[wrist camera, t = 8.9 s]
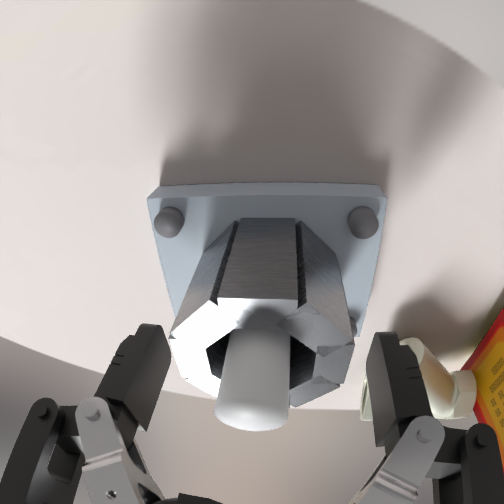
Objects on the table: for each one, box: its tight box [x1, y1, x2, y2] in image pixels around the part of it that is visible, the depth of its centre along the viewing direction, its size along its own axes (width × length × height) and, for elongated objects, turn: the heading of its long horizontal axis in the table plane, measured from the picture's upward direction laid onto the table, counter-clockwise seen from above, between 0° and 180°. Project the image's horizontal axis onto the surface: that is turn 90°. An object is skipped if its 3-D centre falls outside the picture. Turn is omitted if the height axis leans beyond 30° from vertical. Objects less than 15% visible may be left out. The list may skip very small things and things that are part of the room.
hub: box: [168, 218, 355, 408], centre depth 12 cm, size 6×6×5 cm
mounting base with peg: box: [147, 182, 387, 431], centre depth 12 cm, size 10×8×8 cm
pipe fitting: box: [360, 337, 477, 421], centre depth 16 cm, size 8×4×7 cm
